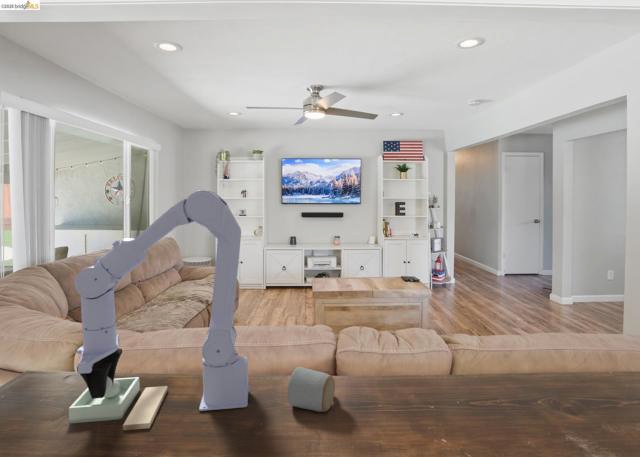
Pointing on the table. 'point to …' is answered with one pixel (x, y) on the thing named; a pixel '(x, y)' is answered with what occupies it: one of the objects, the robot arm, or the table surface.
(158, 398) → the oak board
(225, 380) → the robot arm
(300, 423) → the table surface
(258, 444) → the table surface
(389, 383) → the table surface
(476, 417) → the table surface
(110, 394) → the white ball
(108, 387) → the pebble
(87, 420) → the tub
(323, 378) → the grey cylinder tan end
